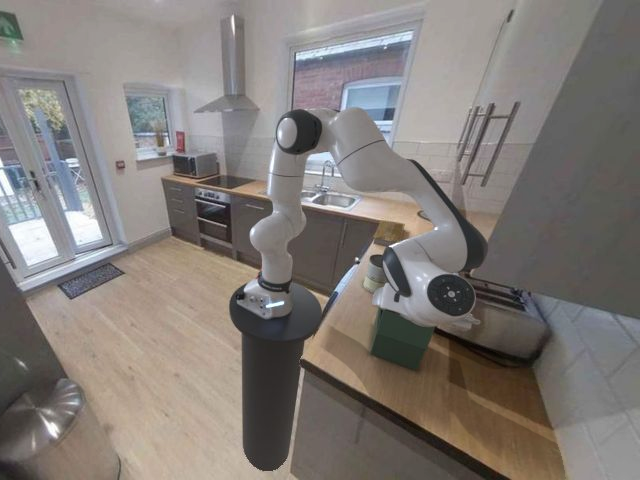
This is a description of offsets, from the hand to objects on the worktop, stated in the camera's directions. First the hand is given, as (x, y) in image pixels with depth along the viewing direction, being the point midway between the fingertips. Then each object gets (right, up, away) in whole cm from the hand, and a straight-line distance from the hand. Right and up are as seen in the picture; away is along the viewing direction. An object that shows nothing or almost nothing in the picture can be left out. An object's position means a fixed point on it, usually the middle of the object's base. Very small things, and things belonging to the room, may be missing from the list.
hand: (410, 313), depth 69 cm
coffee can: (+14, -1, +44) cm, 46 cm away
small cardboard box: (+48, +23, +92) cm, 106 cm away
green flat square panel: (+1, -3, +3) cm, 4 cm away
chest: (+4, -15, +15) cm, 21 cm away
